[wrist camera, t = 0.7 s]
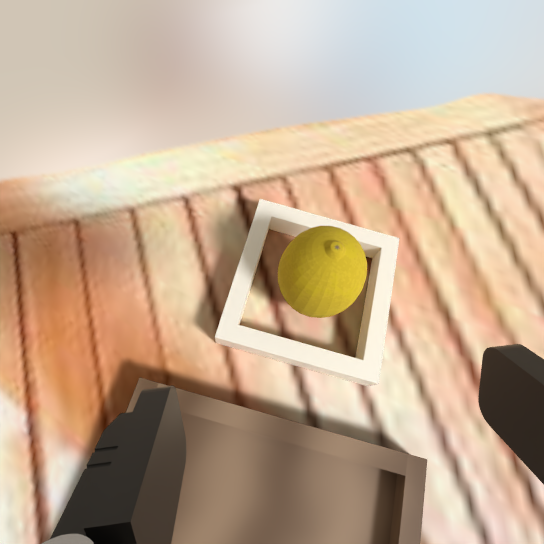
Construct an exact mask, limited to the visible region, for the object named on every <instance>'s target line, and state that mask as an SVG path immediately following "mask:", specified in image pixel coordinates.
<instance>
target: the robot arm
mask: <svg viewBox="0 0 544 544" xmlns="http://www.w3.org/2000/svg"><path fill="white" fill-rule="evenodd" d="M479 406H480V410H481V413H482V415H483V417H484V419H485V420H486V422H487V423H488V424H489V425H490V426H491V428H492V429H493V430H494V431H495V432H496V433H497V434H498V435H499V436H500V437H501V438H502V439H503V441H504V442H505V443H506V444H507V445H508V446H509V447H510V448H511V449H512V450H513V451H514V453H515V454H516V455H517V456H518V457H519V458H520V459H521V460H522V461H523V462H524V463H525V464H526V466H527V467H528V468H529V469H530V470H531V471H532V472H533V473H534V474H535V475H536V476H537V478H538V479H539V480H540V481H541V482H542V483H543V484H544V359H542V358H541V357H539V356H538V355H536V354H535V353H533V352H532V351H530V350H529V349H527V348H526V347H524V346H523V345H520V344H514V345H506V346H498V347H490V348H487V349H486V350H485V351H484V354H483V360H482V369H481V379H480V388H479ZM185 463H186V436H185V431H184V426H183V421H182V416H181V411H180V406H179V401H178V396H177V391H176V389H175V387H174V386H166V387H158V388H150V389H143V390H142V391H141V393H140V395H139V398H138V400H137V402H136V405H135V407H134V410H133V412H128V413H121V414H120V415H119V416H118V417H117V418H116V419H115V420H114V421H113V422H112V423H111V424H110V425H109V426H108V427H107V428H106V429H105V430H104V431H103V433H102V435H101V437H100V439H99V441H98V443H97V446H96V448H95V452H94V453H93V454H92V456H91V458H90V460H89V462H88V464H87V469H85V470H84V472H83V474H82V476H81V478H80V480H79V482H78V484H77V486H76V488H75V490H74V492H73V494H72V496H71V498H70V500H69V502H68V504H67V506H66V508H65V510H64V512H63V514H62V516H61V518H60V520H59V522H58V524H57V526H56V528H55V530H54V532H53V535H52V536H51V538H50V540H48V541H46V542H44V543H42V544H171V542H172V537H173V531H174V525H175V520H176V514H177V508H178V503H179V497H180V492H181V486H182V480H183V475H184V469H185Z"/></svg>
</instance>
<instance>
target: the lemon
mask: <svg viewBox="0 0 544 544" xmlns="http://www.w3.org/2000/svg"><path fill="white" fill-rule="evenodd" d="M366 277H367V260H366V256H365V252H364V250H363V248H362V246H361V244H360V243H359V242H358V241H357V240H356V238H355V237H354V236H352V235H351V234H350V233H348V232H347V231H345V230H343V229H341V228H338V227H333V226H317V227H313V228H310V229H308V230H306V231H304V232H302V233H300V234H299V235H298V236H297V237H296V238H294V239H293V240H292V241H291V242H290V243H289V245H288V246H287V248H286V249H285V251H284V252H283V254H282V256H281V259H280V263H279V266H278V283H279V287H280V291H281V293H282V295H283V297H284V299H285V300H286V302H287V303H288V304H289V305H290V306H291V307H292V308H293V309H295V310H296V311H298V312H299V313H301V314H304V315H306V316H309V317H317V318H323V317H330V316H333V315H336V314H338V313H340V312H342V311H344V310H345V309H346V308H348V307H349V306H350V305H351V304H353V303H354V301H355V300H356V299H357V297H358V296H359V294H360V293H361V291H362V289H363V286H364V283H365V280H366Z"/></svg>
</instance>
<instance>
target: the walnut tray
mask: <svg viewBox="0 0 544 544" xmlns="http://www.w3.org/2000/svg"><path fill="white" fill-rule="evenodd" d="M166 386H168V385H164V384H161V383H157V382H154V381H150V380H147V379H143V378H139V380H138V383H137V385H136V388H135V391H134V393H133V396H132V398H131V401H130V403H129V406H128V408H127V411H126V413H128V412H133V410H134V407H135V405H136V402H137V400H138V398H139V395H140V393H141V391H142V390H143V389H150V388H158V387H166ZM175 389H176V391H177V396H178V401H179V406H180V411H181V416H182V421H183V426H184V431H185V436H186V463H185V469H184V475H183V480H182V486H181V492H180V497H179V503H178V508H177V514H176V520H175V525H174V531H173V537H172V542H171V544H420V539H421V527H422V515H423V503H424V491H425V479H426V468H427V459H424V458H420V457H417V456H413V455H410V454H406V453H403V452H399V451H396V450H392V449H389V448H385V447H382V446H378V445H375V444H371V443H368V442H364V441H361V440H357V439H354V438H350V437H347V436H343V435H340V434H336V433H333V432H329V431H326V430H322V429H319V428H315V427H312V426H308V425H305V424H301V423H298V422H294V421H291V420H287V419H284V418H280V417H277V416H273V415H270V414H266V413H263V412H259V411H256V410H252V409H249V408H245V407H242V406H238V405H235V404H231V403H228V402H224V401H221V400H217V399H214V398H210V397H207V396H203V395H200V394H196V393H192V392H189V391H185V390H182V389H178V388H175Z"/></svg>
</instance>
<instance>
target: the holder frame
mask: <svg viewBox="0 0 544 544" xmlns="http://www.w3.org/2000/svg"><path fill="white" fill-rule="evenodd" d="M317 226H333V227H338V228H341V229H343V230H345V231H347V232H348V233H350V234H351V235H352V236H354V237H355V238H356V240H357V241H358V242H359V243H360V244H361V246H362V248H363V250H364V252H365V256H366V257H369V258H372V263H371V268H370V274H369V280H368V286H367V292H366V298H365V304H364V310H363V315H362V321H361V327H360V333H359V339H358V345H357V351H356V356H355V358H354V357H350V356H347V355H343V354H340V353H336V352H333V351H329V350H326V349H322V348H319V347H315V346H311V345H308V344H304V343H301V342H297V341H294V340H290V339H287V338H283V337H280V336H276V335H273V334H269V333H266V332H262V331H259V330H255V329H252V328H248V327H245V326H241V325H240V322H241V319H242V316H243V312H244V309H245V306H246V302H247V299H248V296H249V293H250V289H251V286H252V283H253V279H254V276H255V273H256V270H257V266H258V263H259V260H260V256H261V253H262V250H263V247H264V243H265V240H266V237H267V233H268V230H269V229H270V230H273V231H277V232H280V233H284V234H287V235H291V236H294V237H297V236H298V235H299V234H300V233H302V232H304V231H306V230H308V229H310V228H313V227H317ZM398 244H399V238H397V237H393V236H390V235H386V234H383V233H379V232H375V231H372V230H368V229H365V228H361V227H358V226H354V225H351V224H347V223H344V222H340V221H337V220H333V219H330V218H326V217H323V216H319V215H315V214H312V213H308V212H305V211H301V210H298V209H294V208H291V207H287V206H284V205H280V204H277V203H273V202H270V201H266V200H262V199H260V200H259V203H258V207H257V210H256V213H255V216H254V219H253V222H252V225H251V228H250V231H249V234H248V237H247V240H246V243H245V246H244V249H243V252H242V255H241V258H240V261H239V265H238V268H237V271H236V274H235V277H234V280H233V283H232V286H231V289H230V292H229V295H228V298H227V301H226V304H225V307H224V310H223V313H222V316H221V319H220V323H219V326H218V329H217V332H216V335H215V341H216V343H217V344H221V345H224V346H228V347H231V348H235V349H238V350H242V351H245V352H249V353H252V354H256V355H260V356H263V357H267V358H270V359H274V360H277V361H281V362H284V363H288V364H291V365H295V366H298V367H302V368H305V369H309V370H312V371H316V372H319V373H323V374H326V375H330V376H333V377H337V378H340V379H344V380H347V381H351V382H354V383H358V384H361V385H365V386H372V385H376V384H379V379H380V371H381V364H382V357H383V350H384V343H385V336H386V329H387V322H388V315H389V308H390V301H391V294H392V287H393V280H394V272H395V265H396V258H397V251H398Z"/></svg>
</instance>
